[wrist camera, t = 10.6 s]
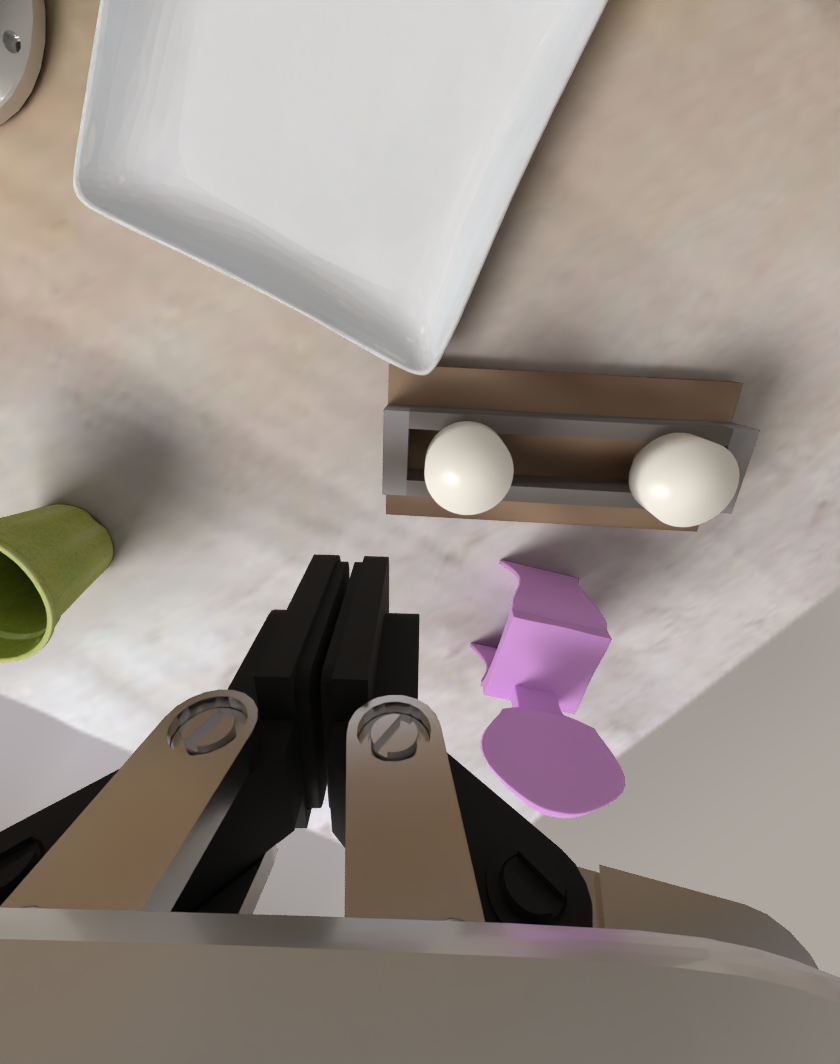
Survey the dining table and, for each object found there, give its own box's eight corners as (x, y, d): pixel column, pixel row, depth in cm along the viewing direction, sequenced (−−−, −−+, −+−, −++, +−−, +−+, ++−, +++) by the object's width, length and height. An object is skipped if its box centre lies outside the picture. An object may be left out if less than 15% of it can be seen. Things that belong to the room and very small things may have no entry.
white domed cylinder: (620, 422, 28) (658, 438, 23) (698, 426, 28) (752, 443, 23) (604, 495, 30) (636, 524, 25) (677, 499, 30) (723, 529, 25)
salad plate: (621, -32, 22) (652, -94, 19) (430, 379, 30) (430, 384, 27) (201, -326, 19) (154, -458, 16) (109, 216, 27) (66, 200, 24)
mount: (390, 363, 29) (384, 366, 26) (733, 381, 29) (774, 387, 25) (387, 509, 33) (381, 529, 30) (689, 526, 33) (719, 548, 29)
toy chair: (593, 575, 35) (697, 730, 21) (553, 664, 38) (620, 848, 24) (489, 550, 34) (525, 693, 20) (457, 643, 38) (471, 819, 24)
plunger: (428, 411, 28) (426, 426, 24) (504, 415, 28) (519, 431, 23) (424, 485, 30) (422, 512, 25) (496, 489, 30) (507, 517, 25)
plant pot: (126, 487, 33) (28, 534, 25) (145, 598, 37) (65, 670, 29) (-2, 476, 33) (-142, 519, 25) (30, 588, 37) (-83, 656, 29)
